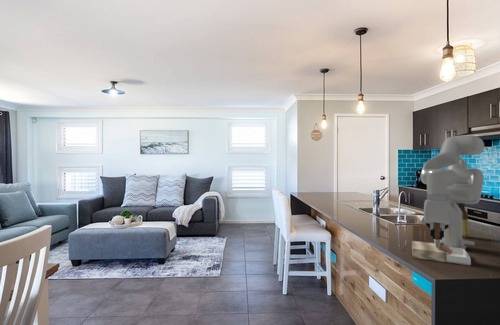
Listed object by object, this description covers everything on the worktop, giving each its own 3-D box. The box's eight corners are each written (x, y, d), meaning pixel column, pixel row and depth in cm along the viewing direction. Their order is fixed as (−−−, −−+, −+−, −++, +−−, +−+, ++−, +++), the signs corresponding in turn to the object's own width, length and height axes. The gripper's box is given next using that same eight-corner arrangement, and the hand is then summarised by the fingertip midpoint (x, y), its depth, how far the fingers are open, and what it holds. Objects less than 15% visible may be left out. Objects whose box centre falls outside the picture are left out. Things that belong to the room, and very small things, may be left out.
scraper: (439, 242, 129) (439, 221, 129) (441, 248, 121) (441, 225, 121) (433, 241, 130) (433, 220, 130) (434, 247, 122) (434, 225, 122)
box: (464, 255, 126) (464, 249, 126) (470, 265, 114) (470, 258, 114) (442, 252, 130) (442, 246, 130) (446, 262, 118) (446, 255, 118)
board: (441, 252, 130) (441, 244, 130) (445, 262, 118) (445, 252, 118) (411, 249, 136) (411, 240, 136) (412, 257, 124) (412, 248, 124)
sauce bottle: (462, 235, 162) (462, 200, 162) (471, 238, 155) (471, 202, 155) (451, 235, 161) (451, 200, 161) (460, 238, 155) (459, 202, 155)
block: (448, 251, 125) (451, 249, 125) (449, 254, 122) (452, 252, 121) (439, 243, 127) (442, 241, 127) (440, 246, 123) (443, 244, 123)
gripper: (457, 197, 125) (457, 238, 125) (416, 195, 133) (416, 234, 133) (460, 199, 118) (460, 243, 118) (416, 197, 126) (416, 238, 126)
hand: (437, 238), depth 126 cm, fingers closed on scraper, 2 cm apart
